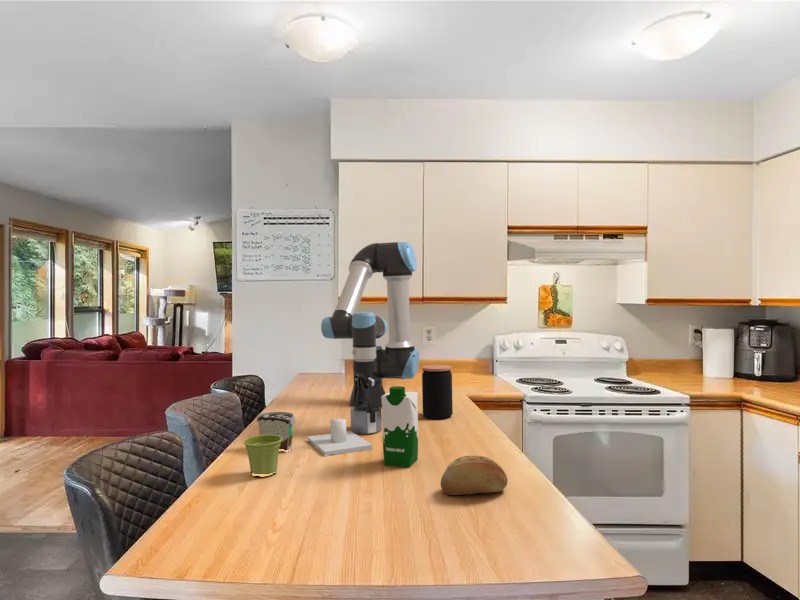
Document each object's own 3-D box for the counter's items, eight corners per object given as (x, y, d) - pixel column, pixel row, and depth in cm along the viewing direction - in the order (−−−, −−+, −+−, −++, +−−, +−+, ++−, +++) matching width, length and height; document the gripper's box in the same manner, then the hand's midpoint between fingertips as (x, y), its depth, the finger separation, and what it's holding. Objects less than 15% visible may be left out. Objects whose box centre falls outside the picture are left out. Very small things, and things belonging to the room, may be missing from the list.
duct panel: (307, 440, 163) (306, 417, 163) (350, 434, 169) (350, 412, 169) (325, 456, 147) (324, 430, 147) (372, 449, 153) (371, 423, 153)
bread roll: (514, 498, 114) (514, 461, 114) (445, 503, 112) (445, 465, 112) (501, 483, 124) (500, 448, 124) (437, 487, 122) (436, 452, 122)
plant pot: (248, 483, 127) (247, 446, 126) (240, 472, 135) (240, 437, 135) (287, 476, 131) (286, 441, 131) (277, 466, 139) (276, 432, 139)
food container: (304, 447, 156) (303, 413, 156) (291, 453, 150) (291, 417, 150) (270, 443, 161) (269, 410, 161) (257, 448, 156) (256, 414, 155)
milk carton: (379, 466, 137) (377, 388, 137) (391, 456, 146) (390, 382, 146) (412, 469, 134) (410, 389, 134) (422, 458, 143) (420, 383, 143)
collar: (348, 428, 176) (347, 407, 176) (373, 424, 180) (373, 404, 180) (358, 434, 168) (357, 412, 168) (384, 431, 172) (384, 409, 171)
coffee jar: (452, 413, 197) (451, 364, 196) (452, 420, 186) (451, 368, 186) (423, 413, 198) (422, 364, 197) (421, 420, 187) (421, 368, 187)
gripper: (342, 357, 182) (343, 423, 182) (366, 364, 162) (368, 438, 162) (363, 355, 185) (364, 420, 185) (389, 362, 165) (390, 435, 165)
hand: (366, 428), depth 174 cm, fingers closed on collar, 9 cm apart
